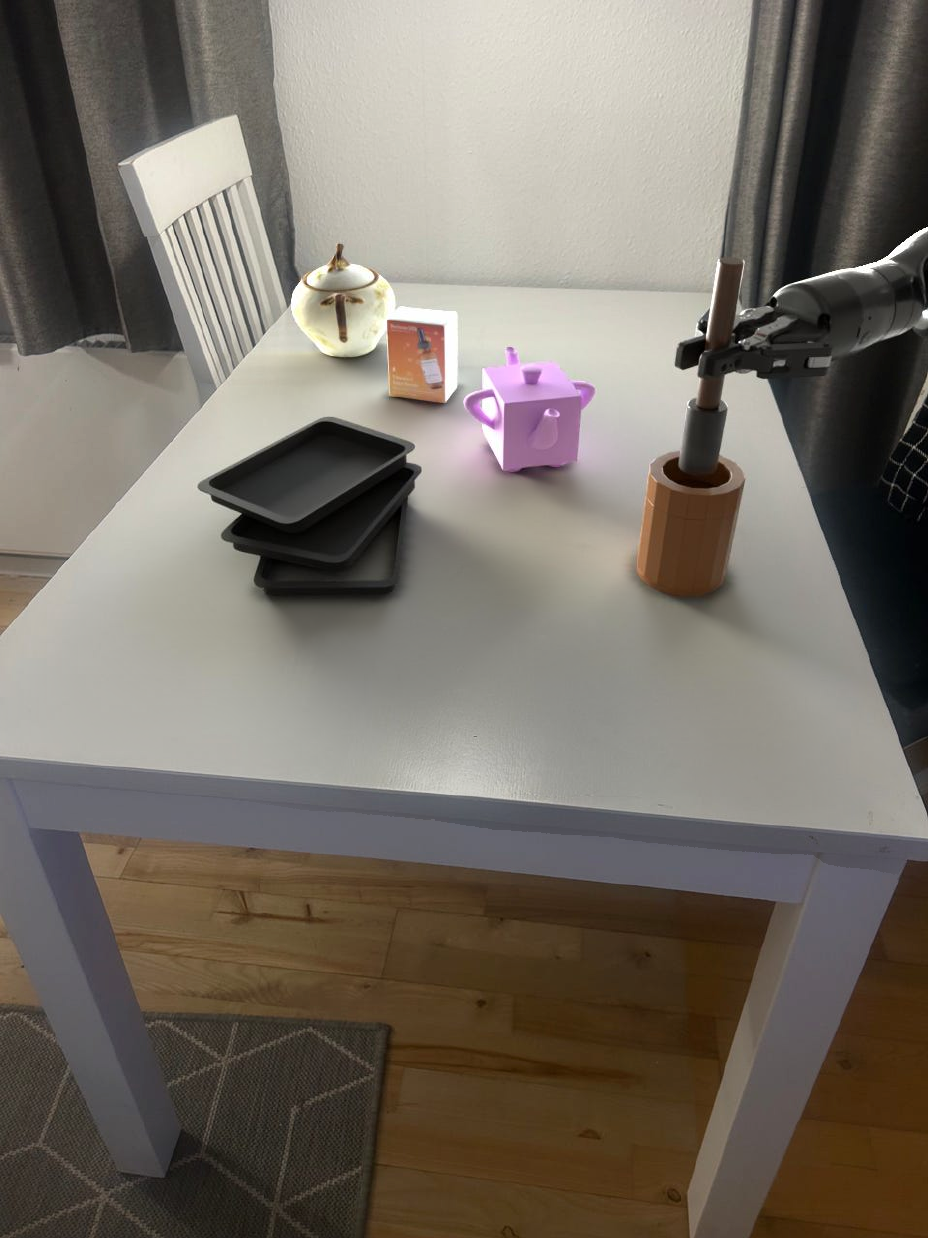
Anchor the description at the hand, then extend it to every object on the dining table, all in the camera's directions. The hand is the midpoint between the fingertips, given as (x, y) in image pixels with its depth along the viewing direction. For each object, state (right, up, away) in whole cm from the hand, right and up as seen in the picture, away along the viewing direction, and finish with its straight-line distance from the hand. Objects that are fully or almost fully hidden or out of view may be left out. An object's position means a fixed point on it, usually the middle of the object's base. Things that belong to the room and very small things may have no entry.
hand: (690, 361), depth 74 cm
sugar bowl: (-36, +19, +62) cm, 74 cm away
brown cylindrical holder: (+3, -16, +15) cm, 22 cm away
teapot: (-11, -2, +34) cm, 36 cm away
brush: (+3, -7, +8) cm, 11 cm away
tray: (-34, -11, +22) cm, 42 cm away
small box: (-24, +9, +49) cm, 55 cm away
